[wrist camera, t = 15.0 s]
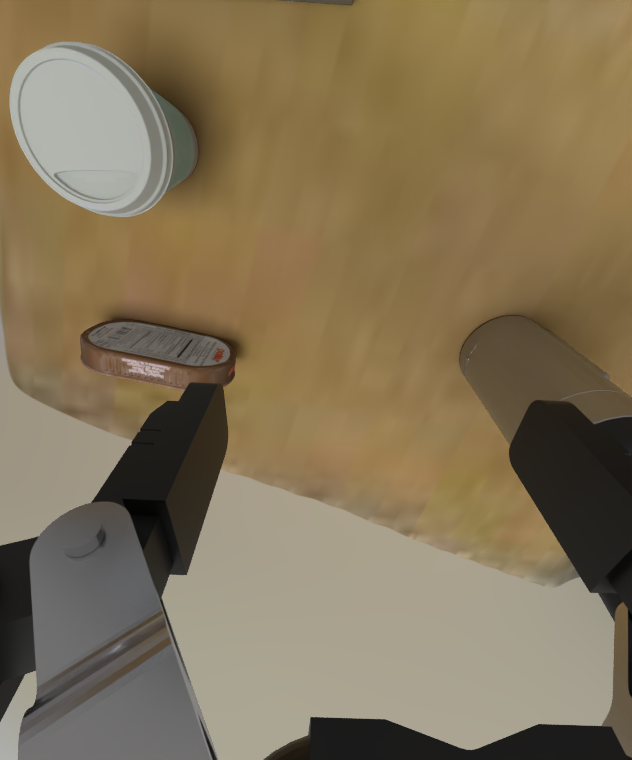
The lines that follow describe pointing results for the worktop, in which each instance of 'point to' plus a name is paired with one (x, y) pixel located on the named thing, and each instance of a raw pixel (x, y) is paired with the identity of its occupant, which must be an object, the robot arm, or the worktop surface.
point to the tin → (156, 354)
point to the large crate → (327, 1)
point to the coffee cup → (99, 130)
